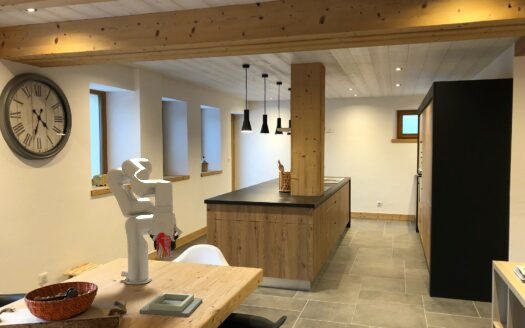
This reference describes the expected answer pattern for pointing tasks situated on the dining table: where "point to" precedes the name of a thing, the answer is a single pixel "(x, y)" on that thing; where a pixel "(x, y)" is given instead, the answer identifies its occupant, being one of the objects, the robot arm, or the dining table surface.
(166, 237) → the soda can
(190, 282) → the dining table surface
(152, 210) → the robot arm
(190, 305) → the holder board
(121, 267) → the dining table surface
